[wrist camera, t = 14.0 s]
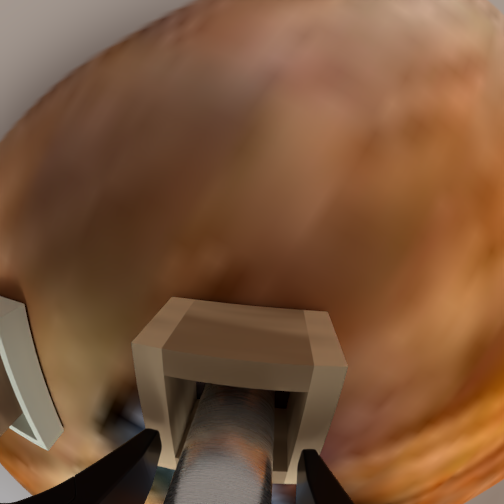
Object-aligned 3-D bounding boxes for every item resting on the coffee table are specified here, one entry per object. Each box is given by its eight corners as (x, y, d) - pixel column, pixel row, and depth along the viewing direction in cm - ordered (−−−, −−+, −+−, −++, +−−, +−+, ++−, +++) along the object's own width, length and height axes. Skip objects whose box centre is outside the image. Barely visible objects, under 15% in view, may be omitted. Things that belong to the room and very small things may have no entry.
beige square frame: (303, 423, 13) (307, 484, 9) (178, 409, 13) (154, 464, 10) (327, 311, 12) (347, 366, 8) (172, 296, 12) (131, 342, 8)
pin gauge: (271, 396, 13) (259, 601, 3) (212, 389, 13) (151, 583, 3) (278, 347, 12) (272, 589, 2) (213, 340, 12) (125, 562, 3)
